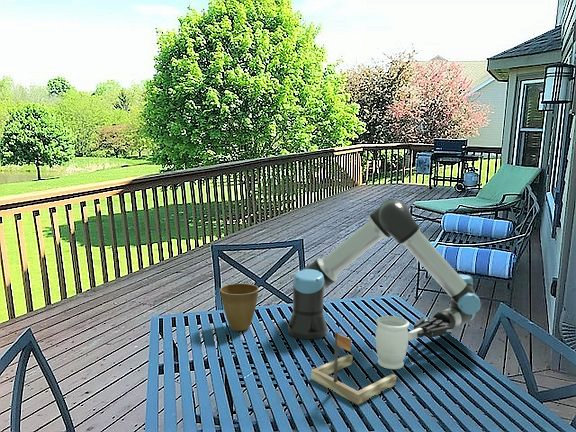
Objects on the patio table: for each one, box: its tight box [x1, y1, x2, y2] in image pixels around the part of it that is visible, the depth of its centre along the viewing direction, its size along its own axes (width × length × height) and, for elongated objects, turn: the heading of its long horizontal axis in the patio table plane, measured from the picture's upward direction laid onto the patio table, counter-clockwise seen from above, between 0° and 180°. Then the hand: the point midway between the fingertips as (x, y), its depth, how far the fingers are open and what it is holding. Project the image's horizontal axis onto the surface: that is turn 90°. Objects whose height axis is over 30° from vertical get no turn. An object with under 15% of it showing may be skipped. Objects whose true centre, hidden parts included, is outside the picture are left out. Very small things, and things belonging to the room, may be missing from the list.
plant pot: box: [219, 283, 260, 332], centre depth 185 cm, size 15×15×16 cm
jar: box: [375, 315, 410, 370], centre depth 155 cm, size 11×10×15 cm
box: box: [310, 331, 397, 406], centre depth 143 cm, size 18×19×18 cm
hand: (410, 336), depth 162 cm, fingers closed
